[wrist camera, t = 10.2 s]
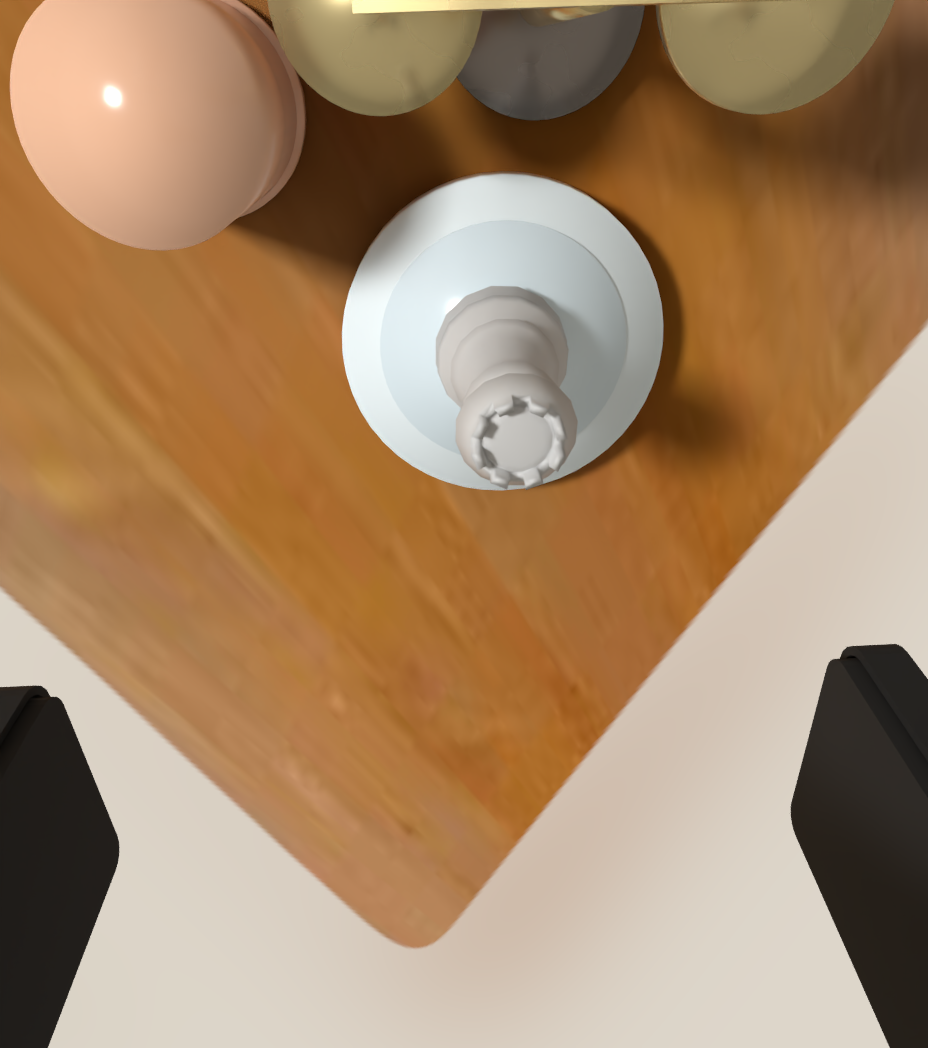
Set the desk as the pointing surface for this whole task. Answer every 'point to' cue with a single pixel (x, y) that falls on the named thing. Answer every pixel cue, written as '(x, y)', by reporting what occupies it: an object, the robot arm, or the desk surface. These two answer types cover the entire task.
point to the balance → (570, 50)
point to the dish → (500, 260)
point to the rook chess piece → (507, 385)
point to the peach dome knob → (156, 114)
